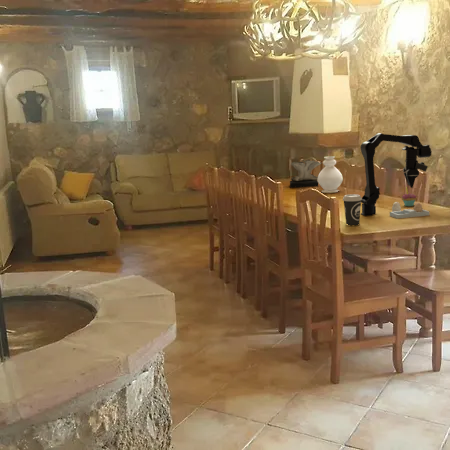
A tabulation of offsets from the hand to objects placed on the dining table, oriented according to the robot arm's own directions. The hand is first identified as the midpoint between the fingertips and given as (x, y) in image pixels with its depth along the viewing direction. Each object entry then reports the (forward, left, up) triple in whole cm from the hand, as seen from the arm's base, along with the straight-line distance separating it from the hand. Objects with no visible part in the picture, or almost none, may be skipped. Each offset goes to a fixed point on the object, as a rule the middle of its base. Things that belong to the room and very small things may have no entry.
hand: (410, 186), depth 295 cm
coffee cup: (-43, -19, -14) cm, 49 cm away
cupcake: (+7, +15, -14) cm, 21 cm away
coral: (-17, +129, -14) cm, 130 cm away
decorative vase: (-11, +93, -14) cm, 94 cm away
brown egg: (-4, -14, -13) cm, 20 cm away
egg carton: (-9, -14, -14) cm, 21 cm away
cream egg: (-10, -2, -14) cm, 17 cm away
